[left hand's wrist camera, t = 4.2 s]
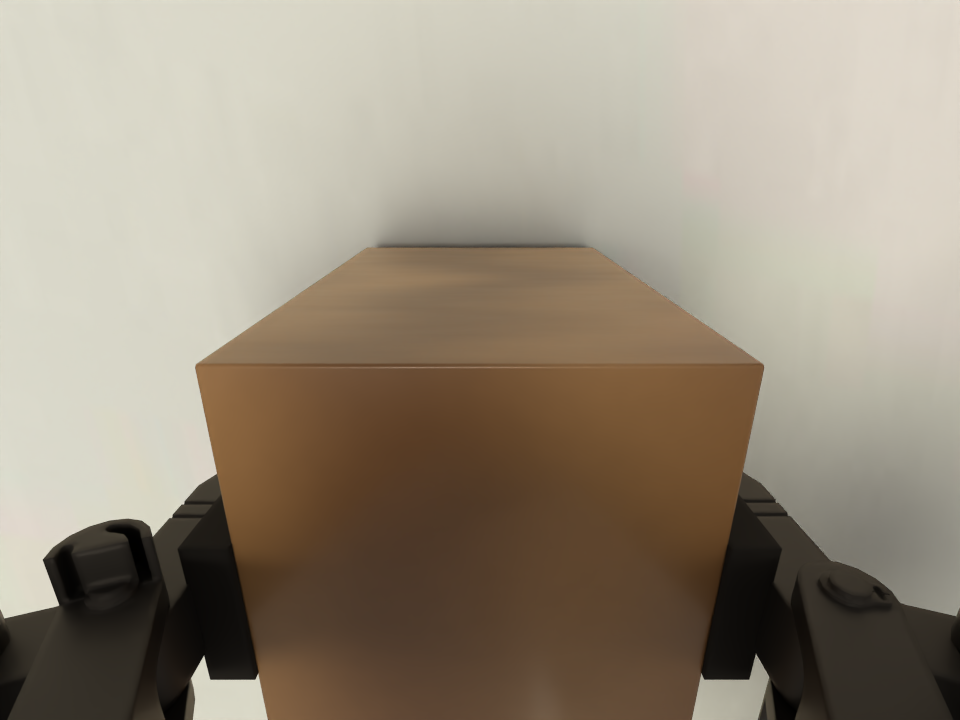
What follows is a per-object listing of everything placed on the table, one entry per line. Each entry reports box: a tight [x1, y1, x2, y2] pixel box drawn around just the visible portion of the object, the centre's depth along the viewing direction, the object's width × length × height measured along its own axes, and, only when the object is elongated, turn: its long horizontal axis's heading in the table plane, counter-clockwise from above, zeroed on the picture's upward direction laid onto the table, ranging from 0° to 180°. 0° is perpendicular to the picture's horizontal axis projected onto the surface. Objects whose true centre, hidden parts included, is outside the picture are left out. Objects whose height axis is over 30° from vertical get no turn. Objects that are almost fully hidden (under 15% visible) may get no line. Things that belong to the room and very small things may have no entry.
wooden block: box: [195, 248, 764, 720], centre depth 13 cm, size 8×8×11 cm
